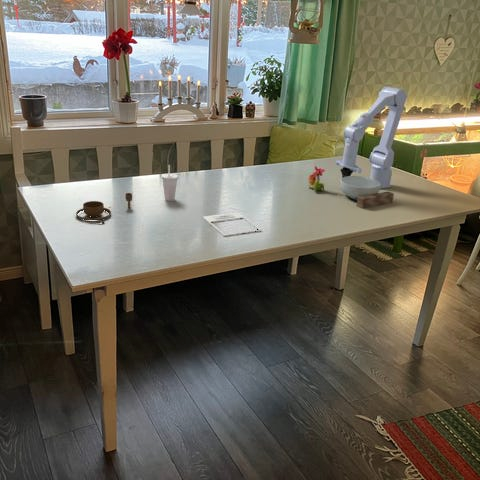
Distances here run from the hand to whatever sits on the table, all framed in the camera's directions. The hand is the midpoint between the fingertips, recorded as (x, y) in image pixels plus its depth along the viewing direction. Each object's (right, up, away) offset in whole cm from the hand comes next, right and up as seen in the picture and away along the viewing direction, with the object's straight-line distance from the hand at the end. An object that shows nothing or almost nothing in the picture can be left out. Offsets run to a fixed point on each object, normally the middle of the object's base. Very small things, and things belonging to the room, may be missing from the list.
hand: (345, 184), depth 223 cm
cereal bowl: (+4, -6, -6) cm, 9 cm away
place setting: (-94, -16, -43) cm, 105 cm away
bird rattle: (-14, -2, 0) cm, 14 cm away
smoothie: (-74, -9, -23) cm, 78 cm away
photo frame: (-50, -19, -43) cm, 68 cm away
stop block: (+10, -10, -13) cm, 19 cm away
